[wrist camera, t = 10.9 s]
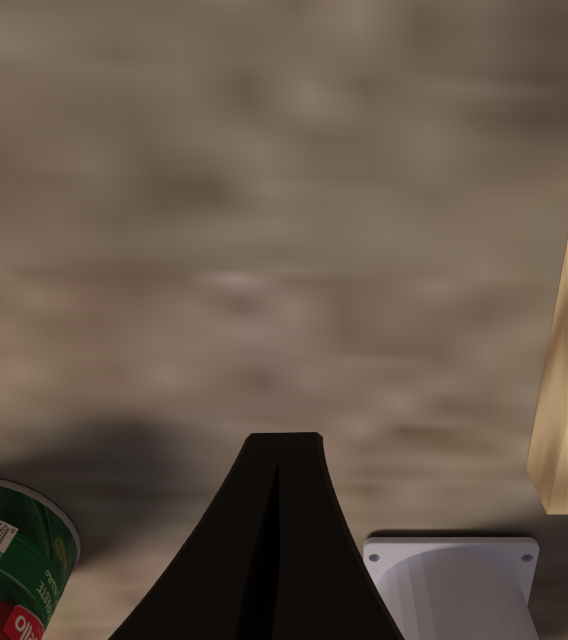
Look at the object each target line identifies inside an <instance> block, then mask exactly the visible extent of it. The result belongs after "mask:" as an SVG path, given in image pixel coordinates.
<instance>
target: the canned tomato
mask: <svg viewBox="0 0 568 640" xmlns="http://www.w3.org/2000/svg"><path fill="white" fill-rule="evenodd" d="M80 551H81V544H80V539H79V535H78V533H77V531H76V529H75V527H74V525H73V523H72V522H71V520H70V519H69V518H68V517H67V515H66V514H65V513H64V512H63V511H62V510H61V509H60V508H59V507H58V506H56V505H55V504H54V503H53V502H51V501H50V500H49V499H47V498H46V497H44V496H43V495H41V494H39V493H37V492H35V491H33V490H31V489H29V488H27V487H25V486H22V485H19V484H16V483H13V482H10V481H5V480H1V479H0V640H41V639H42V636H43V634H44V632H45V630H46V629H47V626H48V624H49V621H50V618H51V616H52V615H53V613H54V611H55V609H56V606H57V604H58V601H59V599H60V598H61V596H62V593H63V591H64V588H65V586H66V584H67V581H68V579H69V577H70V575H71V572H72V571H73V569H74V568H75V567H76V565H77V562H78V560H79V557H80Z"/></svg>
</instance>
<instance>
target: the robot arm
mask: <svg viewBox="0 0 568 640" xmlns="http://www.w3.org/2000/svg"><path fill="white" fill-rule="evenodd" d="M373 554H374V555H373ZM538 555H539V546H538V543H537V541H536V540H535V539H533V538H530V537H371V538H368V539H366V540H365V541H364V543H363V559H362V557H361V555H360V553H359V551H358V549H357V546H356V544H355V542H354V540H353V537H352V535H351V533H350V530H349V528H348V525H347V523H346V520H345V518H344V515H343V513H342V510H341V507H340V505H339V502H338V500H337V497H336V494H335V491H334V488H333V485H332V482H331V478H330V475H329V472H328V468H327V464H326V459H325V454H324V448H323V437H322V436H321V435H320V434H318V433H317V432H297V433H251V434H250V435H249V436H248V437H247V438H246V440H245V442H244V444H243V446H242V449H241V451H240V453H239V454H238V456H237V458H236V460H235V462H234V464H233V466H232V468H231V470H230V472H229V473H228V475H227V477H226V479H225V480H224V482H223V484H222V486H221V487H220V489H219V491H218V492H217V494H216V496H215V497H214V499H213V500H212V502H211V504H210V505H209V507H208V508H207V510H206V512H205V513H204V515H203V516H202V518H201V520H200V521H199V523H198V524H197V526H196V527H195V529H194V530H193V532H192V533H191V534H190V536H189V537H188V539H187V540H186V542H185V543H184V544H183V546H182V547H181V549H180V550H179V551H178V553H177V554H176V556H175V557H174V559H173V560H172V561H171V563H170V564H169V566H168V567H167V568H166V570H165V571H164V572H163V574H162V575H161V576H160V578H159V579H158V580H157V581H156V583H155V584H154V585H153V587H152V588H151V589H150V590H149V592H148V593H147V594H146V595H145V597H144V598H143V599H142V600H141V602H140V603H139V604H138V605H137V606H136V608H135V609H134V610H133V611H132V612H131V614H130V615H129V616H128V617H127V618H126V620H125V621H124V622H123V623H122V624H121V625H120V626H119V628H118V629H117V630H116V631H115V632H114V633H113V634H112V635H111V637H110V638H109V639H108V640H539V638H538V635H537V632H536V629H535V627H534V624H533V621H532V618H531V615H530V612H529V609H528V607H527V605H528V600H529V596H530V591H531V587H532V582H533V577H534V573H535V568H536V564H537V559H538Z"/></svg>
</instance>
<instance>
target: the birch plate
mask: <svg viewBox="0 0 568 640" xmlns="http://www.w3.org/2000/svg"><path fill="white" fill-rule="evenodd" d="M526 469H527V471H528V473H529V475H530V478H531V480H532V482H533V484H534V486H535V488H536V491H537V493H538V495H539V497H540V499H541V502H542V504H543V506H544V508H545V510H546V512H547V514H568V242H567V247H566V253H565V258H564V264H563V269H562V275H561V280H560V286H559V291H558V297H557V302H556V308H555V313H554V319H553V324H552V330H551V335H550V341H549V346H548V352H547V357H546V363H545V368H544V374H543V379H542V385H541V390H540V396H539V401H538V407H537V412H536V418H535V423H534V429H533V434H532V440H531V445H530V451H529V456H528V462H527V467H526Z"/></svg>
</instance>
